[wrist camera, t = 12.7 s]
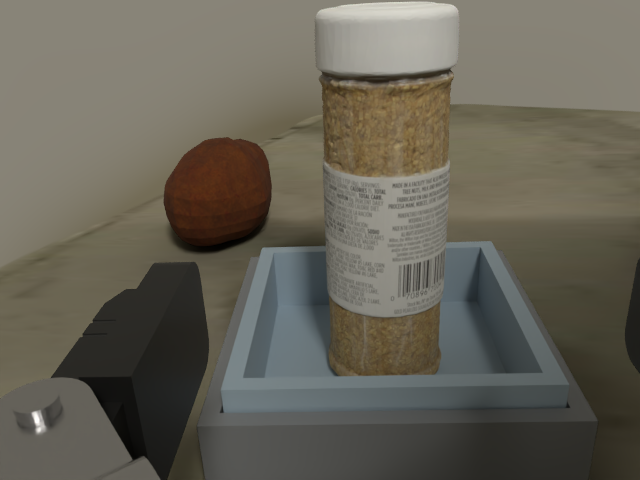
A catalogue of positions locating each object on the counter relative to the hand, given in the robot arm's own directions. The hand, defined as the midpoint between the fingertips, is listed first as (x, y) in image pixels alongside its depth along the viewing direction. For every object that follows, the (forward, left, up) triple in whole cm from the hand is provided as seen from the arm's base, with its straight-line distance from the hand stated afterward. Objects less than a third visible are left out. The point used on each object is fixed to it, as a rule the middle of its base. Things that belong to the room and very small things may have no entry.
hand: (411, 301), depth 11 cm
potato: (-14, -24, -10) cm, 30 cm away
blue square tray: (-8, -7, -10) cm, 15 cm away
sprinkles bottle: (-8, -7, -9) cm, 14 cm away
